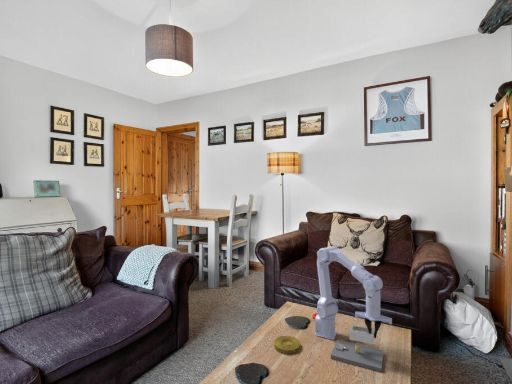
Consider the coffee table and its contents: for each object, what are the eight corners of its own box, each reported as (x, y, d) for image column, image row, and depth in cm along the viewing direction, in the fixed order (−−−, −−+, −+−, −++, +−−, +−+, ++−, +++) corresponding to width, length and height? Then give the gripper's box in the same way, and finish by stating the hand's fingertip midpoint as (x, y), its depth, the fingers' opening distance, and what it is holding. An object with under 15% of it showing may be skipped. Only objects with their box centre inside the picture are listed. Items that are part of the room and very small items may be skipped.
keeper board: (330, 358, 123) (330, 345, 123) (337, 342, 136) (337, 330, 136) (381, 372, 114) (381, 358, 114) (383, 353, 126) (383, 341, 126)
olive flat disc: (305, 351, 129) (305, 346, 129) (281, 357, 125) (281, 352, 125) (292, 338, 140) (292, 333, 140) (270, 343, 136) (270, 338, 136)
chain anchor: (335, 349, 127) (335, 347, 127) (337, 345, 131) (337, 342, 131) (347, 352, 125) (347, 350, 125) (349, 347, 128) (349, 345, 128)
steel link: (349, 339, 125) (349, 330, 125) (351, 333, 130) (351, 324, 130) (374, 344, 120) (373, 334, 120) (375, 337, 125) (375, 328, 125)
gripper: (353, 305, 122) (353, 337, 123) (391, 312, 116) (391, 345, 116) (356, 299, 129) (356, 329, 129) (392, 305, 122) (392, 337, 122)
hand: (373, 336), depth 123 cm, fingers closed on steel link
